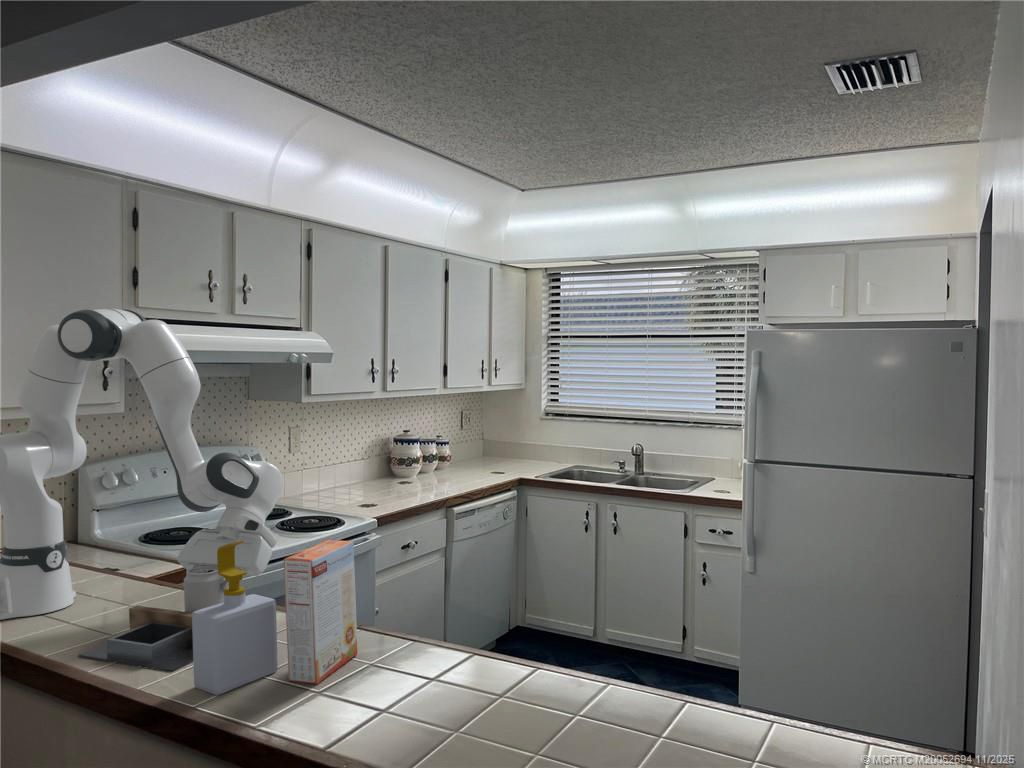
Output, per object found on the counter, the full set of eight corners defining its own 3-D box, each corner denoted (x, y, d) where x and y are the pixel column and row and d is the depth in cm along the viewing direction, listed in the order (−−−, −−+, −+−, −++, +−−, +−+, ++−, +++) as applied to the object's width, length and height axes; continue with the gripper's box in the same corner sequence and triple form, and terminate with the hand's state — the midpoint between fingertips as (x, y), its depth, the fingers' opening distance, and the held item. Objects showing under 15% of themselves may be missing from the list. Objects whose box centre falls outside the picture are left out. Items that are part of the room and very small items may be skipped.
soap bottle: (216, 697, 125) (212, 551, 124) (192, 687, 129) (188, 546, 128) (279, 671, 135) (275, 536, 134) (255, 663, 139) (251, 532, 138)
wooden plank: (129, 633, 156) (129, 608, 156) (137, 630, 158) (137, 605, 157) (227, 647, 147) (226, 621, 147) (234, 643, 149) (233, 617, 149)
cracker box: (329, 651, 144) (326, 538, 143) (358, 655, 142) (356, 540, 142) (285, 682, 131) (281, 557, 130) (316, 686, 129) (313, 559, 128)
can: (216, 634, 155) (214, 573, 154) (178, 634, 155) (176, 574, 154) (230, 621, 162) (229, 563, 162) (194, 622, 162) (193, 564, 162)
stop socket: (78, 656, 144) (77, 638, 144) (131, 635, 155) (131, 617, 155) (172, 672, 136) (171, 652, 136) (221, 647, 147) (220, 629, 147)
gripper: (191, 519, 169) (157, 576, 160) (269, 525, 162) (238, 585, 153) (206, 535, 173) (174, 592, 164) (283, 541, 166) (254, 601, 157)
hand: (206, 589), depth 159 cm, fingers open, 8 cm apart
